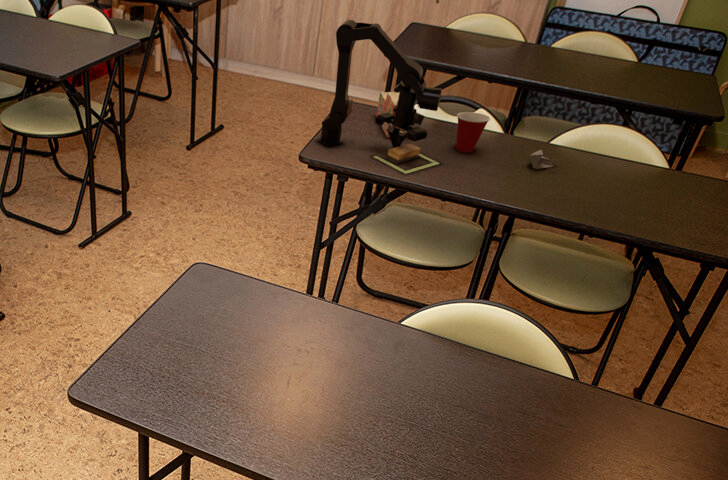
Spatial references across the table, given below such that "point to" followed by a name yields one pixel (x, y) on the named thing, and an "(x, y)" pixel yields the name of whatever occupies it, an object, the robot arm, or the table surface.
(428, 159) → the tape box
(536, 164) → the paper boat
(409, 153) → the chalkboard eraser
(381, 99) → the tan printed boxy piece
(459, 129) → the plastic cup
